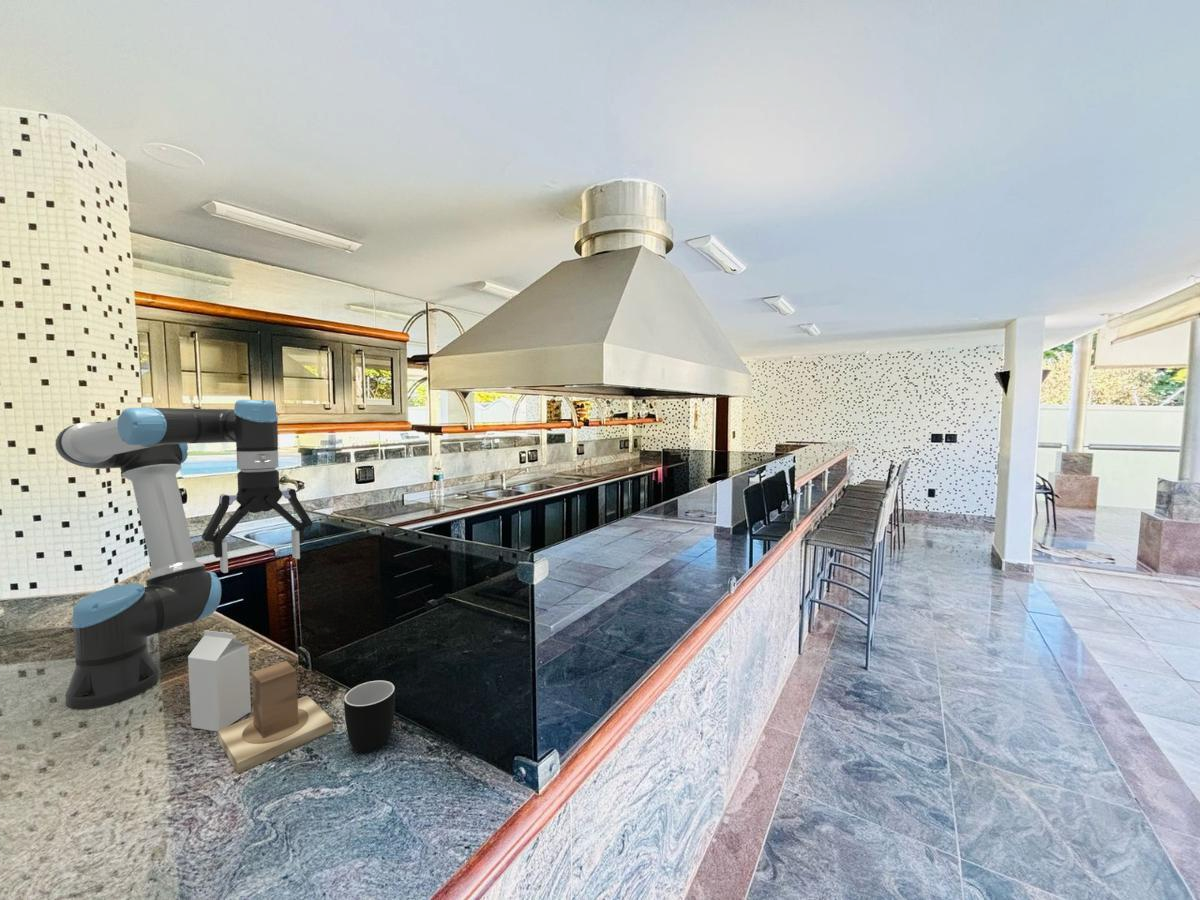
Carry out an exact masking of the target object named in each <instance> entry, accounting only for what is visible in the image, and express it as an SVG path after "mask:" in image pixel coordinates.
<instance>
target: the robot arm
mask: <svg viewBox="0 0 1200 900" xmlns="http://www.w3.org/2000/svg"><path fill="white" fill-rule="evenodd" d="M278 420H279V418H278V416H277V405H276V403H275V402H274V401H272V400H267V399H265V400H264V399H263V400H262V399H239V400H237V401H235V403H234V408H233V409H232V408H231V409H230V408H179V407H178V408H175V407H174V408H171V407H152V406H142V407H127V408H124V409H123V410H122V411H121V413H120V414H119V416H118V418H113V419H110V420H106V421H94V422H93V421H87V422H86V421H85V422H80V423H79V422H78V423H76V424H72V425H69V426H68V427H67V426H66V428H64V429H63V430H62V431H60V432H59V434H58V435H57V437H56V439H55V449H56V451H57V453H58V455H59V456H60V457H61V458H62V459H64V460H65V461H66V462H69V463H70V464H72V465H75V466H79V467H82V468H87V469H101V470H102V469H120V472H121V476H122V478H125V479H126V480H128V481H131V483H132V487H133V493H134V497H135V501H136V506H137V510H138V515H139V519H140V523H141V528H142V532H143V536H144V541H145V546H146V550H147V555H148V559H149V563H150V568H151V573H150V574H149V575H148V577H147V578H146V579H145V583H146V586H144V585H143V584H142V583H137V582H136V583H135V582H134V583H133V582H132V583H125V584H123V585H122V584H121V585H113V586H110V587H106V588H103V589H101V590H98V591H95V592H93V593H90V594H88V595H86V596H85V597H82V599H80V600H78V601H77V602H76V604H75V605H74V606H73V610H72V613H73V614H72V622H71V626H72V628H73V640H74V643H73V644H74V655H75V656H74V657H75V658H74V659H75V668H74V671H73V673H72V677H71V679H70V681H69V684H68V688H67V690H66V691H65V704H66V706H67V707H68V708H71V709H79V710H80V709H81V710H82V709H92V708H94V709H95V708H100V707H104V706H107V705H112V704H116V703H118V702H121V701H122V702H123V701H125V700H128V699H130V698H133V697H135V696H137V695H139V694H141V693H143V692H145V691H147V690H149V689H150V688H152V687H153V686H154V685H155V684H156V683H157V682H159V681H158V680H159V679H160V678H159V676H160V675H159V668H158V666H157V664H156V663H155V661H154V659H153V657H152V655H151V654H150V652H149V651H148V643H147V642H148V637H150V636H153V635H156V634H159V633H162V632H165V631H168V630H172V629H174V628H178V627H182V626H185V625H188V624H192V623H195V622H197V621H199V620H203V619H205V618H207V617H209V616H212V615H213V614H214V613H215V612H216V610H218V607H219V605H220V602H221V599H222V598H221V597H222V583H221V580H220V578H219V577H218V575H217V574H216V573H215V572H214V571H209V570H206V569H207V568H206V566H205V565H206V564H203V563H201V562H199V561H197V560H196V556H195V551H194V547H193V543H192V538H191V535H190V534H191V533H190V531H189V526H188V522H187V518H186V512H185V510H184V504H183V501H182V496H181V491H180V487H179V483H178V480H177V473H179V472H180V470H181V469H182V464H183V463H184V462H185V461H187V458H188V455H189V454H188V451H189V446H188V444H215V443H216V444H217V443H235V447H236V469H238V470H240V471H239V472H237V493H236V494H224V493H222V494H220V496H219V499H218V505H217V507H216V509H215V511H214V513H213V514H212V517H210V518H211V519H210V520H209V522H208V524H207V526H206V527H205V530H204V531H203V533H202V534H201V539H202V540H204V541H205V542H211V543H212V545H213V547H212V548H213V550H212V551H213V556H214V557H215V558H217V559H218V558H219V561H220V562H219V564H220V565H219V567H220V571H221V572H222V573H223V574H227V573H229V561H228V560H229V559H228V555H229V554H228V543H227V541H226V540H224V539H225V538H226V537H227V536H228V535H229V534H230V532H232V530H233V529H234V528H236V526H237V524H239V523H240V521H241V520H243V518H244V517H246V516H247V514H248V513H252V514H257V513H260V512H270V511H271V510H274V511H275V512H276V513H278V514H279V515H280V516H281V517H282V518H283V519H284V520H286V521H287V522H288V523H289V524H290V525H291V526H293V527H294V529H291V531H290V533H291V555H292V556H291V558H293V559H294V560H295V559H296V560H300V559H301V547H300V545H301V544H303V543H304V542H305V539H304V538H305V537H304V536H305V533H304V532H305V530H306V528H308V527H311V526H313V521H312V520H311V518H310V516H309V515H308V513H307V512H306V510H305V508H304V507H303V505H302V504H301V502H300V500H299V499H298V496H297V490H296V489H295V488H289V487H288V488H287V489H283V490H281V489H280V472H279V470H277V469H278V467H279V464H280V463H279V449H278V448H279V442H278V441H279V440H278V436H279V435H278V434H279V433H278V432H279V430H278V427H279V426H278ZM282 496H283V498H285V499H286V500H288V503H290V505H291V507H292V508H293V510H294V511H295V513H296V515H297V516H298V517H299V519H300V520H301V521H299V520H297V519H296V518H295V517H294V516H293V515H292V514H291V513H290V512H289V511H288V510H287V509H285V508H284V507H283V506H282V505H281V504H280V503H279V501H280V499H281V498H282ZM235 501H236V502H237V503H238V504H239V506H238V507H237V509H236V510H235V512H234V513H233V514H232V515H231V516H230V517H229V518H228V520H227V521H226V522H225V523H224V524H223V525H222V526H221V527H220V529H218V527H219V526H220V524H221V522H222V520H223V518H224V516H225V515H226V513H227V511H228V509H229V506H231V505H233V503H234V502H235ZM217 529H218V530H217Z"/></svg>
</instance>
